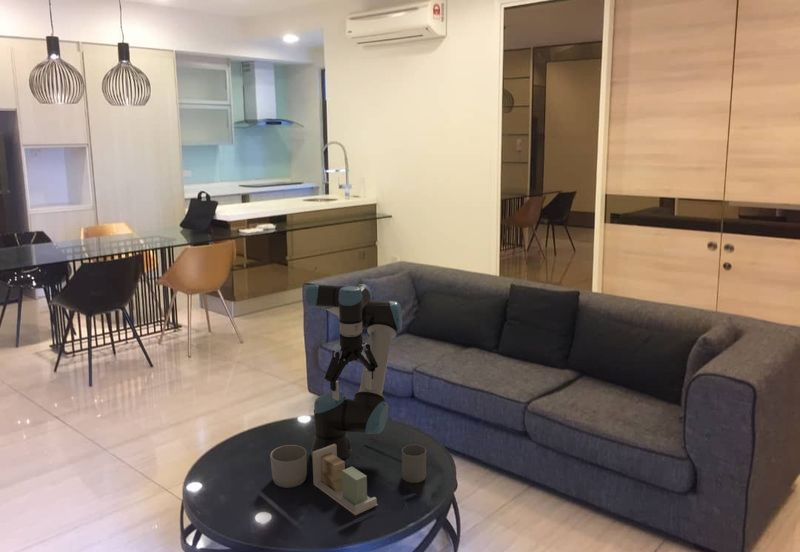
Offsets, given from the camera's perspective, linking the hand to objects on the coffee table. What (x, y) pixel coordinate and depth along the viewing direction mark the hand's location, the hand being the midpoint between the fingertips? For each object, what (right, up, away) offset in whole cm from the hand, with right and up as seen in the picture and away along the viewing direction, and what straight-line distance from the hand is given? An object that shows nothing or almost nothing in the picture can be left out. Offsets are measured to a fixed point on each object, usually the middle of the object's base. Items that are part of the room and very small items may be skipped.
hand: (352, 393), depth 221 cm
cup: (+21, -31, +9) cm, 38 cm away
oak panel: (-6, -31, +1) cm, 32 cm away
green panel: (+1, -33, -8) cm, 34 cm away
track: (-2, -33, -4) cm, 34 cm away
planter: (-22, -32, +5) cm, 39 cm away
